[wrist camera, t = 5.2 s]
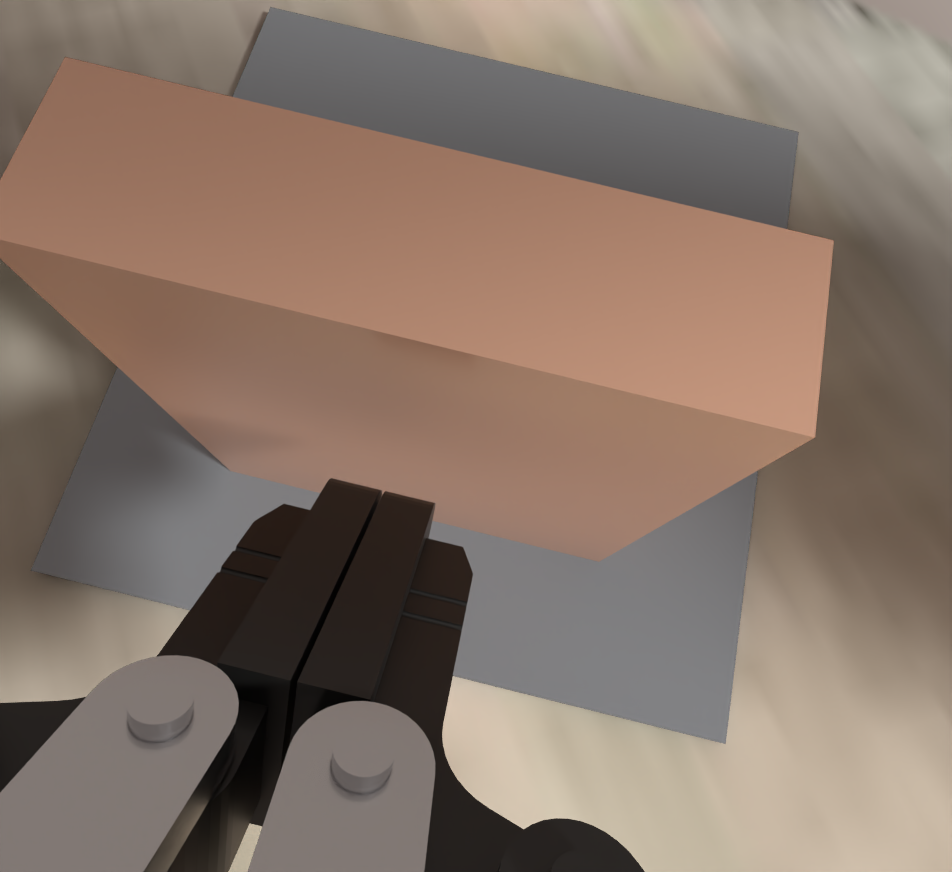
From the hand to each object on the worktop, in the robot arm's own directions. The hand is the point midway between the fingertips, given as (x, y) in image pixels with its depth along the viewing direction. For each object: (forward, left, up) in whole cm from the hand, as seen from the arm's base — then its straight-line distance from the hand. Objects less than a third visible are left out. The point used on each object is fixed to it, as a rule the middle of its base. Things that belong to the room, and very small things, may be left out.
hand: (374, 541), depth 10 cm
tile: (-1, -2, -7) cm, 7 cm away
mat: (-3, -6, -7) cm, 10 cm away
